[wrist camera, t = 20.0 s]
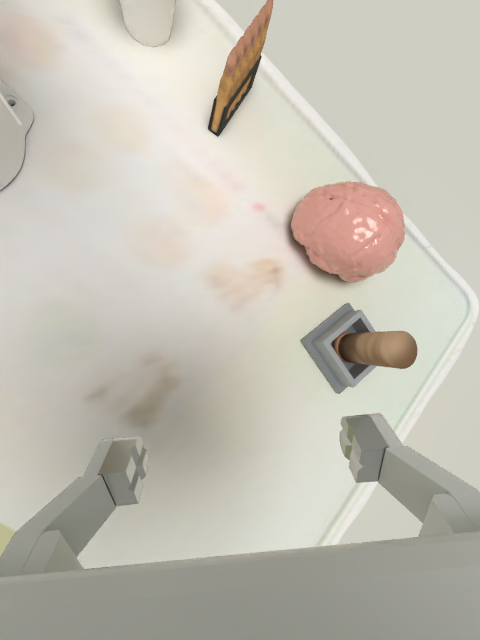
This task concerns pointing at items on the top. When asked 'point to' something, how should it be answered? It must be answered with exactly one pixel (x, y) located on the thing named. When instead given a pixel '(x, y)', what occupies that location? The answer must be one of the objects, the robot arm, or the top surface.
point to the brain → (349, 229)
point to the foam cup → (149, 20)
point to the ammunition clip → (240, 70)
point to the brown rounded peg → (377, 348)
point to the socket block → (326, 356)
